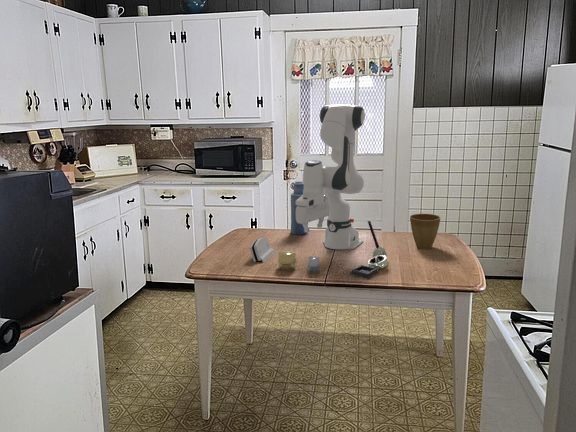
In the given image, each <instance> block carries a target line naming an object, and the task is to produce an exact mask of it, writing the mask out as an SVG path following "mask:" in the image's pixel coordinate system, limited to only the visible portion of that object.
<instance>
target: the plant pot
mask: <svg viewBox="0 0 576 432" xmlns="http://www.w3.org/2000/svg"><path fill="white" fill-rule="evenodd" d="M409 221H410V228H411V233H412V237H413V239H414V243H415V245H416V248H418V249H420V250H421V249H422V250H430V249H431V248H432V247H433V244H435V241H436V238H437V234H438V231H439V228H440V223H441V216H440V215H437V214H432V213H415V214H411V215H410V216H409Z"/></svg>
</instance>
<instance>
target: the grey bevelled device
mask: <svg viewBox="0 0 576 432" xmlns="http://www.w3.org/2000/svg"><path fill="white" fill-rule="evenodd" d="M270 244H271V243H269V240H268V239H267V237H261V238H257V239H256V240H254V241H253V242H251V244H250V247H249V250H250V255H251V257H252V260H253V262H254V263H256V262H257V261H261V262H262V263H263V264H264V263H265V262H266V261H267V260H269V259H270V257H271V256H273V255H275V250H274V249H273V248H272V246H271V245H270Z"/></svg>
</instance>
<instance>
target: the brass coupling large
mask: <svg viewBox="0 0 576 432" xmlns="http://www.w3.org/2000/svg"><path fill="white" fill-rule="evenodd" d="M277 263H278V269H279V270H280V269H281V271H283V270H286V271H285V272H287V271H288V272H290V271H293V270H295V269H296V267H297V266H296V263H297V258H296V252H295V251H294V250H293V251H292V250H282V251H280V252H278V259H277ZM289 270H290V271H289Z"/></svg>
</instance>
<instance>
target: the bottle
mask: <svg viewBox="0 0 576 432" xmlns="http://www.w3.org/2000/svg"><path fill="white" fill-rule="evenodd" d="M303 189H304V184H303V180H295V182H294V183H293V192H291V193H290V233H291V234H292V235H295V236H298V235H299V236H300V235H301V236H302V235H306V234H308V233H309V232H304V227H303V225H302V224H299V223H297V221H296V207H297V206H298V205H296V200H297V199H298V198H300V197H301V196H302V195H303ZM307 226H309V224H308V225H307Z"/></svg>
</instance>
